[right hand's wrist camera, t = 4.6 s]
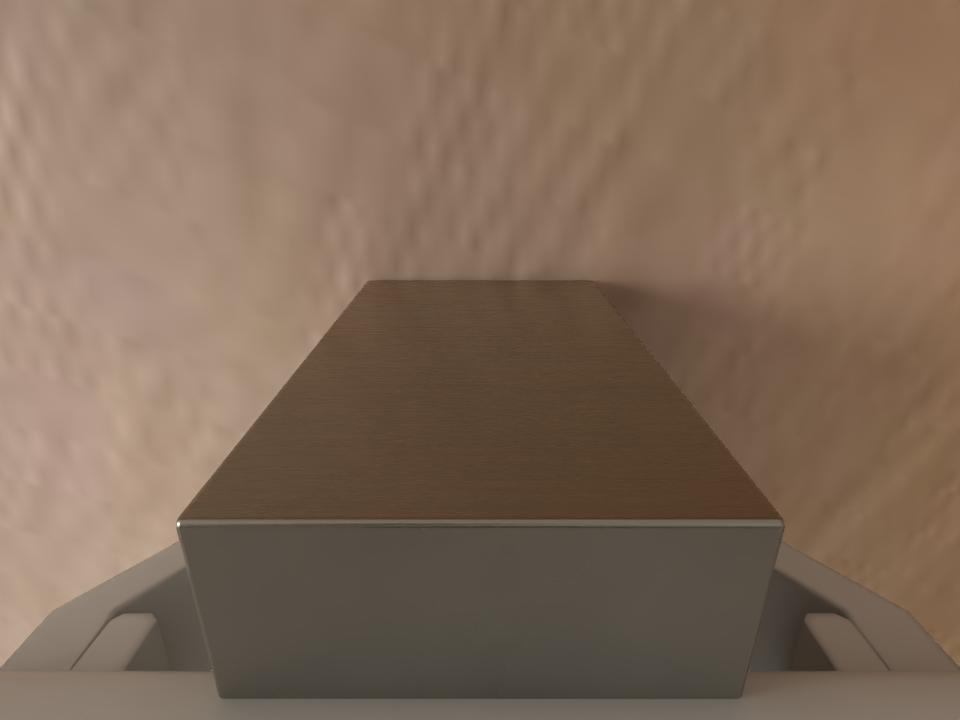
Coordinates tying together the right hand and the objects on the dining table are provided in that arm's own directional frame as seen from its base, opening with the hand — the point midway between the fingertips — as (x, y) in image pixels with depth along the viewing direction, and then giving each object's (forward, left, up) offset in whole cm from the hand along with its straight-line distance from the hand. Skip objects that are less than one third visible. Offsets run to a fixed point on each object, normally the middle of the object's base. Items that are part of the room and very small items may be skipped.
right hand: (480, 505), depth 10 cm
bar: (+8, 0, -3) cm, 8 cm away
